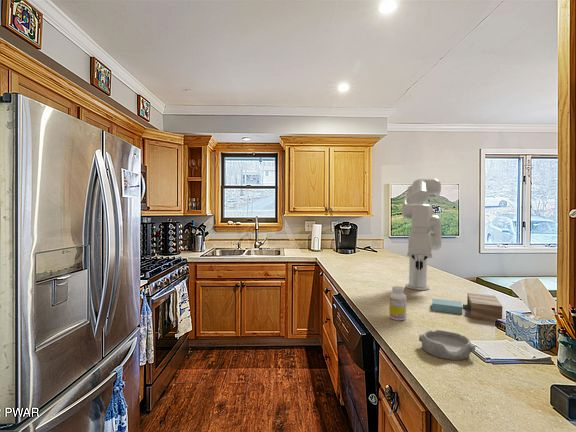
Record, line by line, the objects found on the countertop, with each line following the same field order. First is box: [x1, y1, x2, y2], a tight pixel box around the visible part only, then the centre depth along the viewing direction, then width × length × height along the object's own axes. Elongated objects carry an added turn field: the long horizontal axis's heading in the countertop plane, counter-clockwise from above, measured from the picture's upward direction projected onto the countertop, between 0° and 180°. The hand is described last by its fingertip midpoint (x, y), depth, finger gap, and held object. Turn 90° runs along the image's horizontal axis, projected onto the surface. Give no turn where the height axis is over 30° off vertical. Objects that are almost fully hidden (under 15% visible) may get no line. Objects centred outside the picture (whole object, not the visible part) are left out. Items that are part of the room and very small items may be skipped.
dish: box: [418, 329, 476, 361], centre depth 104 cm, size 14×14×5 cm
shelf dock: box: [462, 292, 503, 322], centre depth 142 cm, size 18×13×6 cm
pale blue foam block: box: [431, 298, 463, 315], centre depth 148 cm, size 9×12×3 cm
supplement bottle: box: [389, 285, 407, 321], centre depth 135 cm, size 7×7×13 cm
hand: (419, 269), depth 153 cm, fingers closed
